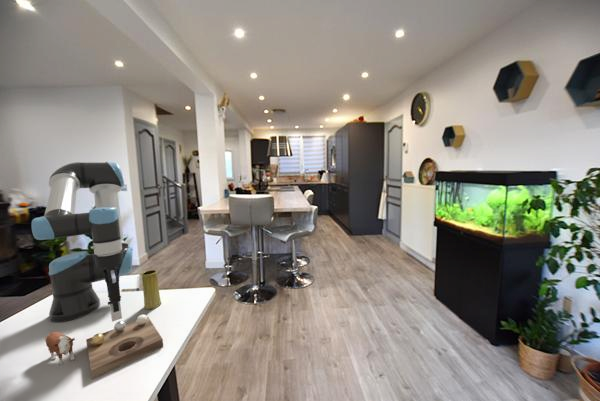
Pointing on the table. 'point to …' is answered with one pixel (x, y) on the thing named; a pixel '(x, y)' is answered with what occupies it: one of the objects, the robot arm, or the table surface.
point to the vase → (151, 289)
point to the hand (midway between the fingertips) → (116, 319)
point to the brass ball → (97, 339)
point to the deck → (123, 347)
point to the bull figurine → (59, 345)
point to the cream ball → (141, 319)
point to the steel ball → (119, 326)
